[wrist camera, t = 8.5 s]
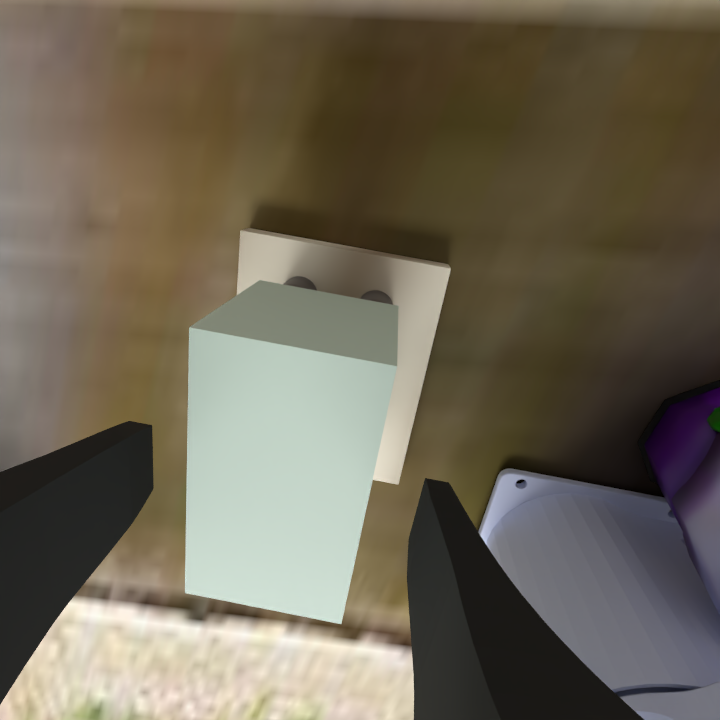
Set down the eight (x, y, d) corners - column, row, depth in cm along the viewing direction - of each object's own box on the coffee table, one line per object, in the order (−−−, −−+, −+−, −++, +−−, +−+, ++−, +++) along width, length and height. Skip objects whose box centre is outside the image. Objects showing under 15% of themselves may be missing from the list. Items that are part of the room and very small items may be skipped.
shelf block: (398, 305, 14) (396, 366, 9) (357, 503, 17) (341, 624, 12) (259, 280, 14) (189, 327, 9) (243, 481, 17) (184, 592, 12)
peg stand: (448, 263, 17) (461, 285, 13) (398, 471, 21) (397, 532, 17) (248, 227, 17) (207, 239, 14) (235, 440, 21) (200, 494, 17)
